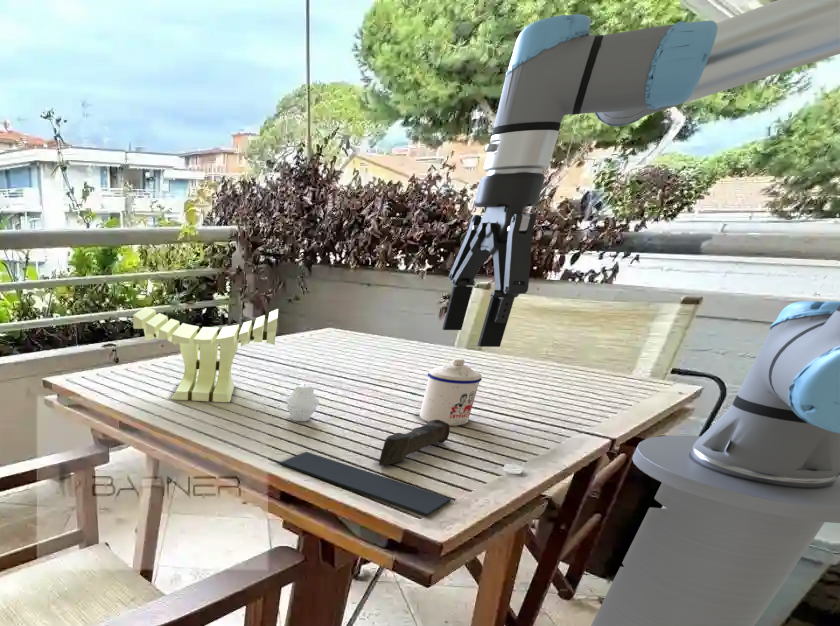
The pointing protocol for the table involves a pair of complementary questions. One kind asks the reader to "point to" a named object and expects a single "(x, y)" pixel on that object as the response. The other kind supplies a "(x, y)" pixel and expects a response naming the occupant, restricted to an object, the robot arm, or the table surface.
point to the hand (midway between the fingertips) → (468, 337)
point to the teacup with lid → (450, 393)
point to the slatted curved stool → (205, 351)
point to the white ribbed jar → (302, 403)
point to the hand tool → (413, 441)
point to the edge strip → (368, 483)
